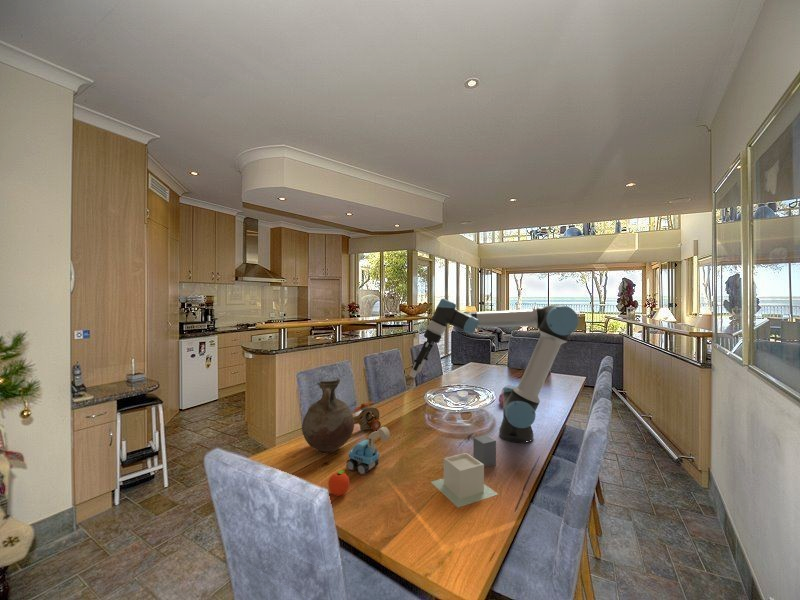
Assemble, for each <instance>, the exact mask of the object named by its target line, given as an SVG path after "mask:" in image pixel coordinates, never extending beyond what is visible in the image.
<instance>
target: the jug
mask: <svg viewBox="0 0 800 600" xmlns="http://www.w3.org/2000/svg"><path fill="white" fill-rule="evenodd" d="M340 383H341V378H340V377H339V378H336V379H335V380H327V381H326V380H320V381H319V382H317V385H318V386H319V388H320V389H321V390H322V396H321V398H320V399H319V400H317V401H316V402H314V403H313V404H311V405H310V406H309V407H308V409H307V411H306V413H305V414H304V417H303V420H302V424H301V425H302V426H301V430H302V435H303V437H304V439H305V441H306V443H307V444H308V445H309V446H310V447H311V448H313V449H314V450H316V451H317V452H318V453H319V452H320V454H323V453H326V454H325V455H327V453H328V454H331V452H332V453H334V452H336V451H338V450H339V448H341V447H342V446H344V445H346V443H347V442H348V441H349V440H350V438H351V436H352V435H353V433H354V429H355V424H354V419H353V417H354V416H353V411H352V410H351V408H350V407H349V405H348V403H346V402H344V401H343V400H341V399H339V398H337V397H336V389H337V388H338V385H339V384H340Z"/></svg>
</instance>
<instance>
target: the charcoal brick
mask: <svg viewBox="0 0 800 600" xmlns="http://www.w3.org/2000/svg"><path fill="white" fill-rule="evenodd" d="M472 457H474V458H475V459H477V460H478V461H480V462H481V463H483V464H484V468H487V467H490V466H494V467H496V466H497V440H496V439H493V438H492V437H490V436H489V435H487V434H485V435H480V436H476V437H475V436H474V437H473V456H472Z"/></svg>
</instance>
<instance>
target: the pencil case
mask: <svg viewBox="0 0 800 600" xmlns="http://www.w3.org/2000/svg"><path fill="white" fill-rule="evenodd" d="M506 386H512V384H511V385H505V386H504V387H506ZM504 387H502V389H501V392H500V394H499V395H498V402H499V404H500V405H501V407H503V390H504Z"/></svg>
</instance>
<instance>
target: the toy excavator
mask: <svg viewBox="0 0 800 600" xmlns="http://www.w3.org/2000/svg"><path fill="white" fill-rule="evenodd" d="M378 438H380V439H381V443H385V442H387V441H389V440H390V438H391V432H390V430H389V429H388V427H386V426H382V427H380V429H378V430H377V431H375V430H374V431H372V432H371V433H369V435H368V439H363V440H361V441H359V442H358V443H355V445H353V448H352V449H351V450H349V452H348V458H349V459H348V460H346V462H345V463H346V469H347V470H348V471H354V470H356V469H357V472H358V474H360V476H364V475H366V474H367V473H369V470H372V468H374V469H375V468H376V467H377V466H378V465H379V459H380V452H378V449H377V446H376V445H375V444H376V442H375V441H376V439H378Z"/></svg>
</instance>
